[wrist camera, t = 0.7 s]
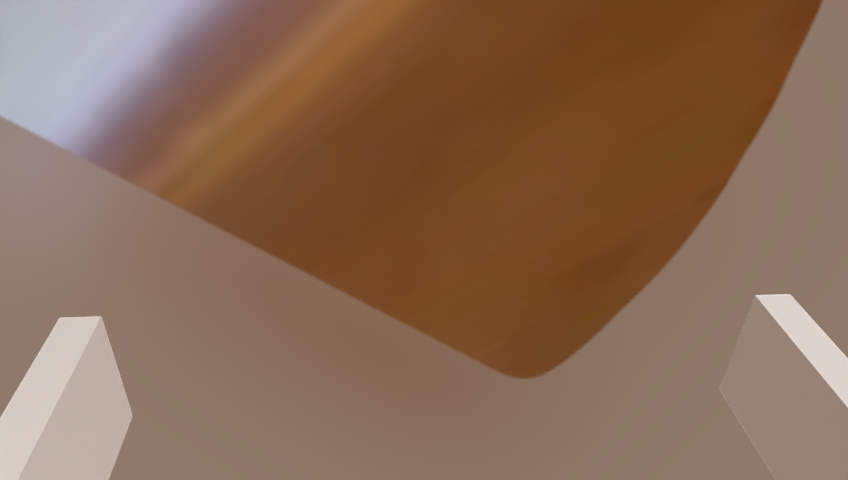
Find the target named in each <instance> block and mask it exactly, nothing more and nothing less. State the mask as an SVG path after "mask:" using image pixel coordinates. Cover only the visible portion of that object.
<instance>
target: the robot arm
mask: <svg viewBox="0 0 848 480" xmlns="http://www.w3.org/2000/svg"><path fill="white" fill-rule="evenodd" d="M719 391H720V392H721V394H722V395H723V397H724V399H725V400H726V402H727V403H728V405H729V406H730V408H731V409H732V411H733V413H734V414H735V416H736V418H737V419H738V421H739V422H740V424H741V426H742V427H743V429H744V430H745V432H746V434H747V435H748V437H749V438H750V440H751V441H752V443H753V445H754V446H755V448H756V449H757V451H758V453H759V454H760V456H761V458H762V459H763V461H764V462H765V464H766V465H767V467H768V469H769V470H770V472H771V473H772V475H773V477H774V478H775V479H776V480H848V358H847V357H846V356H845V355H844V354H843V353H842V352H841V351H840V350H839V348H838V347H837V346H836V345H835V344H834V343H833V342H832V340H830V338H829V337H828V336H827V335H826V334H825V333H824V332H823V330H822V329H821V328H820V327H819V326H818V325H817V324H816V323H815V322H814V321H813V319H812V318H811V317H810V316H809V315H808V314H807V313H806V312H805V310H804V309H803V308H802V307H801V306H800V305H799V304H798V303H797V302H796V300H795V299H794V298H793V297H792V296H791V295H790V294H781V295H755V297H754V300H753V302H752V305H751V307H750V310H749V313H748V315H747V318H746V320H745V323H744V326H743V328H742V331H741V334H740V336H739V339H738V341H737V344H736V346H735V349H734V352H733V354H732V357H731V360H730V362H729V365H728V367H727V370H726V373H725V375H724V378H723V381H722V383H721V386H720V389H719ZM132 416H133V415H132V412H131V409H130V406H129V402H128V399H127V396H126V393H125V390H124V387H123V383H122V380H121V377H120V374H119V371H118V367H117V364H116V361H115V358H114V355H113V352H112V348H111V345H110V342H109V339H108V336H107V332H106V329H105V326H104V323H103V320H102V317H101V316H97V317H96V316H95V317H64V318H59V320H58V321H57V323H56V325H55V326H54V328H53V330H52V332H51V333H50V335H49V337H48V338H47V340H46V342H45V343H44V345H43V347H42V348H41V350H40V352H39V353H38V355H37V357H36V359H35V360H34V362H33V364H32V365H31V367H30V369H29V370H28V372H27V374H26V375H25V377H24V379H23V380H22V382H21V384H20V385H19V387H18V389H17V390H16V392H15V394H14V396H13V397H12V399H11V401H10V402H9V404H8V406H7V407H6V409H5V411H4V412H3V414H2V416H1V417H0V480H109V478H110V475H111V472H112V469H113V467H114V464H115V462H116V459H117V456H118V454H119V451H120V448H121V446H122V443H123V440H124V438H125V435H126V432H127V430H128V427H129V424H130V422H131V419H132Z"/></svg>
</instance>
